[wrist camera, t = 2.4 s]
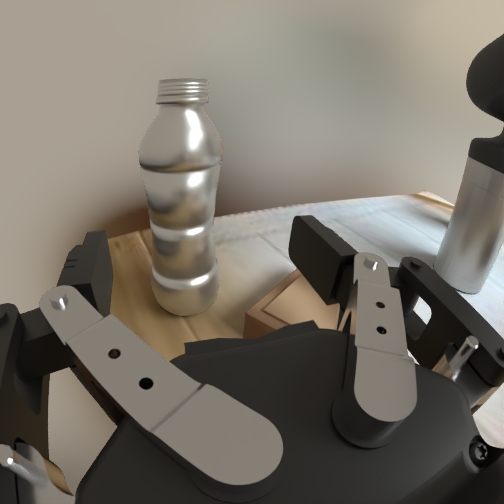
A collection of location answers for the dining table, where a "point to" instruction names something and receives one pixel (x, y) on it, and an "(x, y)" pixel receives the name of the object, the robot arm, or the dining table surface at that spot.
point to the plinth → (289, 308)
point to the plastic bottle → (182, 196)
